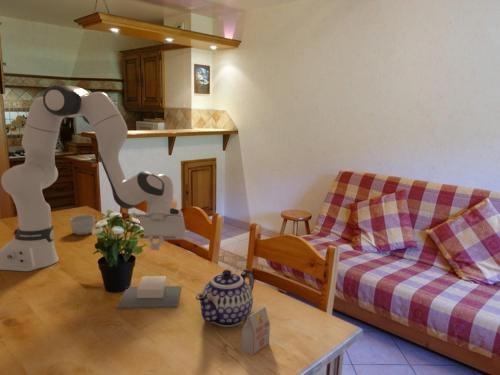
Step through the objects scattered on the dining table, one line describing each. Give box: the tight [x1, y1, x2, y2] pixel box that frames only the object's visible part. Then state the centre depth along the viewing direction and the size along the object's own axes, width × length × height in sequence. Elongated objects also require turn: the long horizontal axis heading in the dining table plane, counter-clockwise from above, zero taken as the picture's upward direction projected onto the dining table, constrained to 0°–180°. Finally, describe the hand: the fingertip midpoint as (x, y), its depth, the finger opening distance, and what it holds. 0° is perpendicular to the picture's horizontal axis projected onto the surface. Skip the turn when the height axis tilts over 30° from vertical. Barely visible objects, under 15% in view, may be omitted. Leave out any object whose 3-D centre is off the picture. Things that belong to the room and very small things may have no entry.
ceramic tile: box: [137, 275, 168, 298], centre depth 129 cm, size 8×3×10 cm
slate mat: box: [116, 285, 182, 310], centre depth 127 cm, size 18×14×1 cm
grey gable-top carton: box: [241, 306, 271, 357], centre depth 101 cm, size 4×7×10 cm, turn 140°
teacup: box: [69, 213, 96, 236], centre depth 191 cm, size 14×11×8 cm
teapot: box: [195, 268, 255, 328], centre depth 114 cm, size 25×15×15 cm, turn 141°
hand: (154, 249), depth 137 cm, fingers closed
